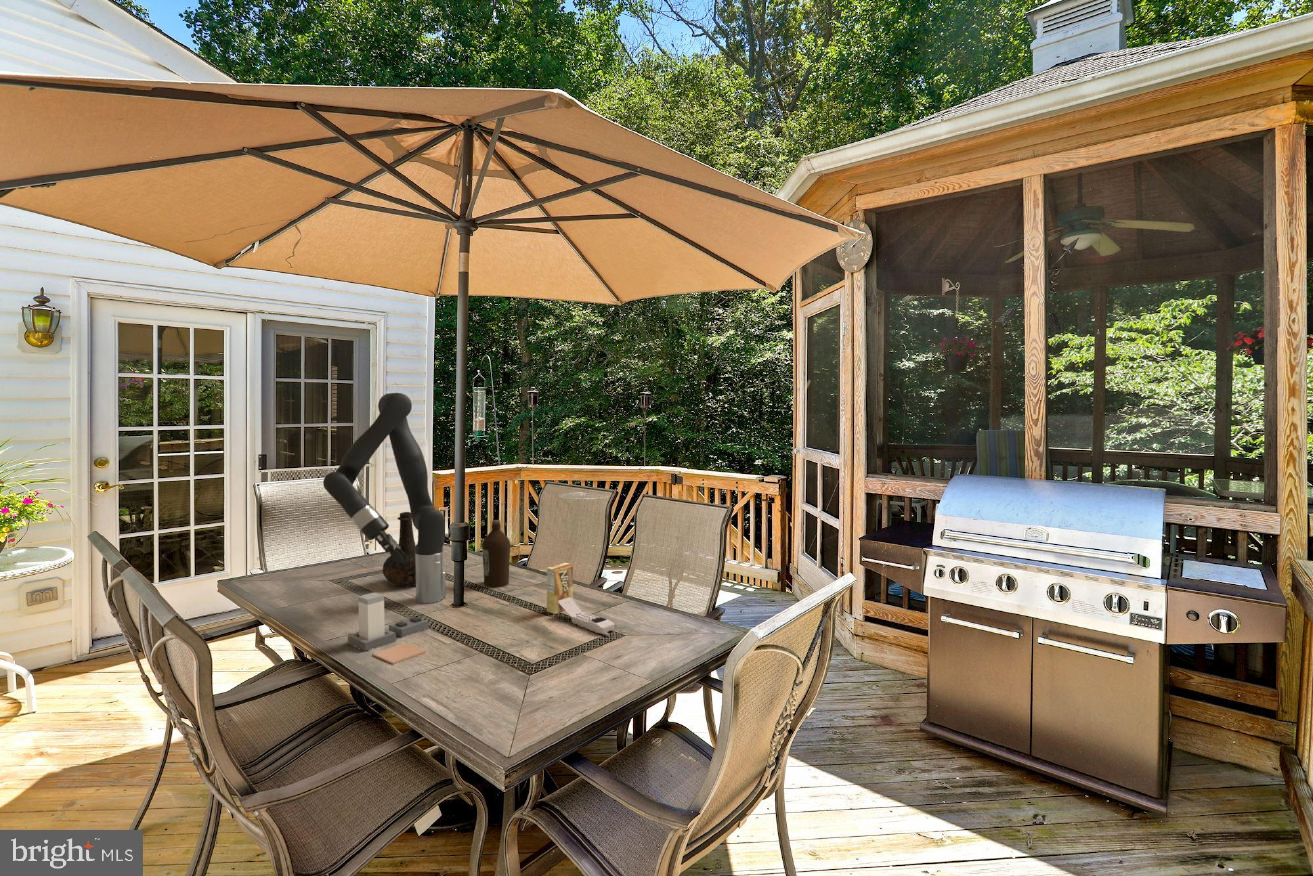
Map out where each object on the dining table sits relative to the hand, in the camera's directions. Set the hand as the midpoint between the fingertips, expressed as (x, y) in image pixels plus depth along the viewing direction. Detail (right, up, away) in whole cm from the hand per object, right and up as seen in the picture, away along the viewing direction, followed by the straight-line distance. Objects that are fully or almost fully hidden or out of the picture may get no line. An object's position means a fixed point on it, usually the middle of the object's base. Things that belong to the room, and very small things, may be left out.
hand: (402, 560), depth 202 cm
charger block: (-1, -21, -19) cm, 28 cm away
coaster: (+10, -21, -27) cm, 36 cm away
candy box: (+49, -19, +11) cm, 54 cm away
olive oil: (+20, -18, +40) cm, 48 cm away
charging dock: (+2, -20, -14) cm, 25 cm away
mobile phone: (+60, -21, -3) cm, 64 cm away
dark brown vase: (-14, -17, +40) cm, 46 cm away
